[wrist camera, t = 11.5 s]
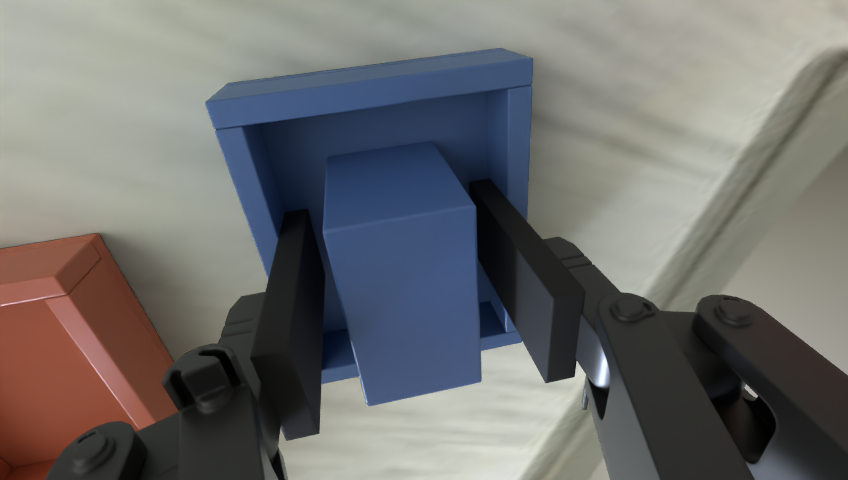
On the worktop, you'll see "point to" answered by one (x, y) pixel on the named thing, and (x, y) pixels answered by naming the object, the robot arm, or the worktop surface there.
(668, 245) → the worktop surface
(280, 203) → the tray blue
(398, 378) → the blue rectangular block
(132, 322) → the tray rust
